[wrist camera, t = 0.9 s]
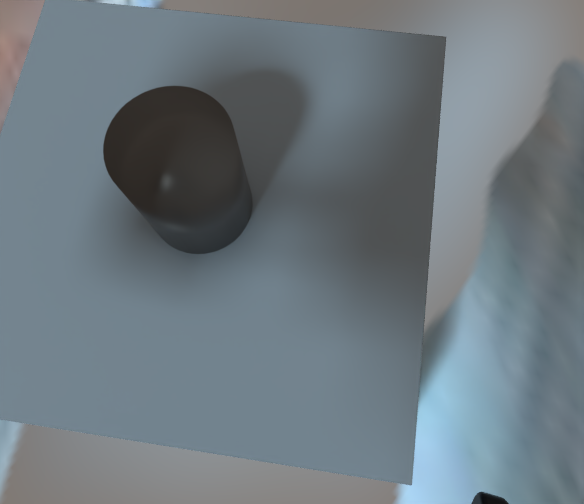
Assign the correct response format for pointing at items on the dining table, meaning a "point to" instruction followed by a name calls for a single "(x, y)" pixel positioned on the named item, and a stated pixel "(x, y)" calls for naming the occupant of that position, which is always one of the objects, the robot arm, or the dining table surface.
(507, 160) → the dining table surface
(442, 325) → the dining table surface
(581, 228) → the dining table surface
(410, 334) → the lid
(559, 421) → the dining table surface
